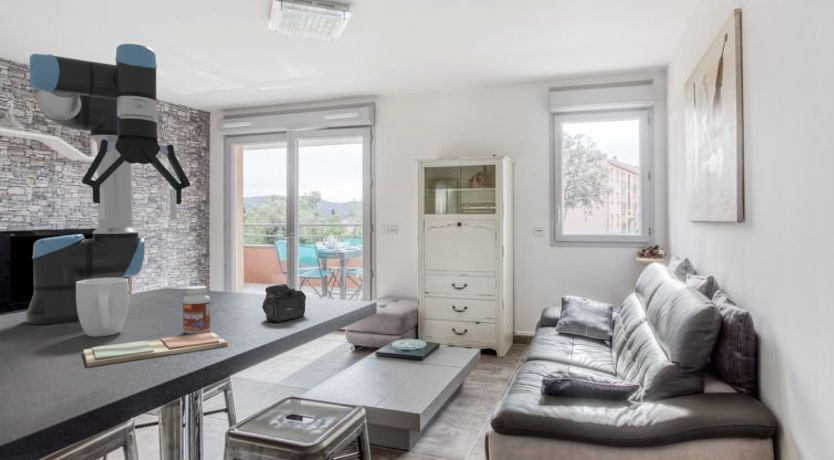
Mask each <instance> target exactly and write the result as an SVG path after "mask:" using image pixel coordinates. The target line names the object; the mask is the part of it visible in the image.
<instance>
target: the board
mask: <svg viewBox="0 0 834 460" xmlns="http://www.w3.org/2000/svg"><path fill="white" fill-rule="evenodd" d="M228 344H229V343H228V341H226V340H225V339H223V338H222V337H221V336H219V335H218V334H216V333H215V332H213V331H212V332H209V331H208V332H205V333H198V334H184V335H177V336H170V337H169V336H168V337H163V338H162V337H161V338H160V339H151V340H139V341H137V340H136V341H131V342H124V343H115V344H107V345H99V346H93V347H91V348H85V349H83V355H84V360H85V361H86V366H87V368H90V367H94V366H95V367H96V366H102V365H110V364H115V363H123V362H129V361H130V362H131V361H136V360H143V359H151V358H155V357H156V358H157V357H163V356H169V355H175V354H176V355H177V354H182V353H183V354H184V353H190V352H197V351H203V350H210V349H216V348H223V347H228V346H229V345H228Z"/></svg>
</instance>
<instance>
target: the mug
mask: <svg viewBox="0 0 834 460" xmlns="http://www.w3.org/2000/svg"><path fill="white" fill-rule="evenodd" d="M129 289H130V288H129V279H128V278H126V277H123V278H120V277H119V278H101V279H87V280H82V281H78V282H76V304H77V313H78V318H79V320H78V321H79V324H80V326H81V328H82V330H83V331H84V334H86V335H87V336H89V337H94V338H95V337H98V338H99V337H107V336H113V335H116V334H118V333H120V332H121V331H122V329H123V327H124V325H125V323H126V320H127V317H128V313H129V305H130V304H129V303H130V302H129V301H130V296H129V295H130V291H129Z"/></svg>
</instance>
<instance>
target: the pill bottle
mask: <svg viewBox="0 0 834 460" xmlns="http://www.w3.org/2000/svg"><path fill="white" fill-rule="evenodd" d="M207 288H208V286H206V285H196V286H195V285H194V286H187V287H186V289H185V290H186V291H185V293H186V294H187V296H185V297H184V298H183V299H182V300H183V302H182V303H183V304H182V306H183V307H182V308H183V309H182V313H183V314H182V315H183V316H182V317H183V318H182V319H183V321H182V322H183V323H182V324H183V326H182V327H183V328H182V329H183V330H182V331H183V333H186V335H191V334H198V333H206V332H208V333H209V331H210V330H211V298H210V296H209V295H207V293H208V292H207V291H208V289H207Z"/></svg>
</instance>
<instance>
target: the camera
mask: <svg viewBox="0 0 834 460" xmlns="http://www.w3.org/2000/svg"><path fill="white" fill-rule="evenodd" d="M264 291H265V293H266V294H265V298H264V300H263V303H262V310H263V312H264V314H265V318H266V321H267V322H271V323H281V322H285V321H287V320H288V321H289V320H293V319H294V320H295V319H298V318H300V316H301V317H304V315H305V313H306V300H307V295H306V294H305V293H304V292H303V291H301V290H296V289H295V288H293V287H289V285H288V284H287V283H282V284H276V285H275V284H274V285H270V286H267V287H265V290H264Z"/></svg>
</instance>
